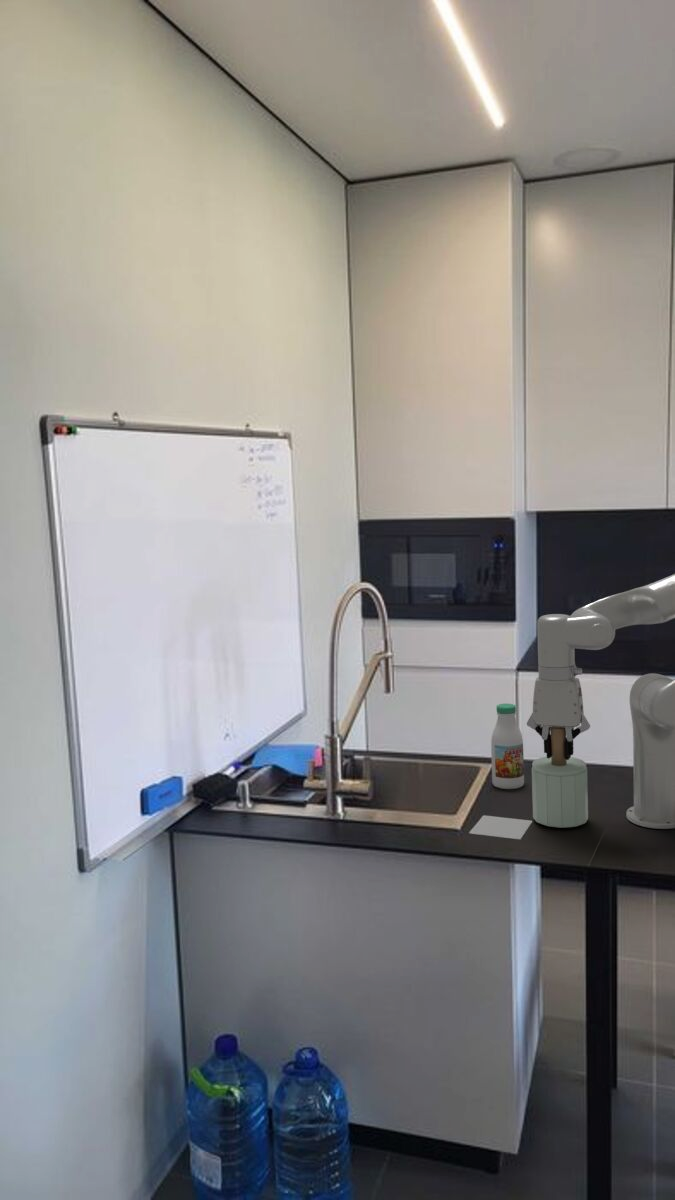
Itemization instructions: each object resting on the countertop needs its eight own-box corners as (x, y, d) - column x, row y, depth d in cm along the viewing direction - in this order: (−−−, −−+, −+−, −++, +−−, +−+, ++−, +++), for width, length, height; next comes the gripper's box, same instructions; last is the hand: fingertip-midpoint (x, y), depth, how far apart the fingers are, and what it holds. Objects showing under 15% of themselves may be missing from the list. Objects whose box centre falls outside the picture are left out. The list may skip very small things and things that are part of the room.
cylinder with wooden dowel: (591, 811, 199) (589, 722, 196) (582, 829, 188) (580, 736, 186) (540, 806, 203) (537, 719, 201) (528, 824, 193) (525, 732, 191)
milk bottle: (485, 785, 223) (483, 706, 221) (505, 777, 228) (502, 700, 226) (511, 792, 218) (509, 710, 215) (530, 784, 223) (528, 704, 220)
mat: (532, 823, 197) (532, 820, 197) (520, 842, 187) (520, 839, 187) (483, 817, 202) (483, 815, 202) (468, 835, 192) (468, 833, 192)
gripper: (599, 670, 192) (601, 755, 194) (522, 668, 199) (524, 749, 201) (593, 678, 185) (595, 765, 187) (513, 675, 192) (516, 759, 194)
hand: (558, 756), depth 194 cm, fingers closed on cylinder with wooden dowel, 3 cm apart
